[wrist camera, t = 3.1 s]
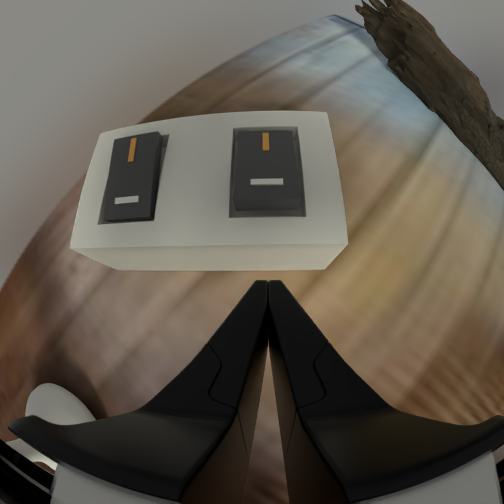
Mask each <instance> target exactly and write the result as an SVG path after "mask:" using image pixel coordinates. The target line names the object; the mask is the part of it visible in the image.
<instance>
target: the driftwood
mask: <svg viewBox="0 0 504 504" xmlns="http://www.w3.org/2000/svg"><path fill="white" fill-rule="evenodd" d="M369 2H370V3H371V4H372V6H374V7H375V8H376V9H377V10H378V11H379V12H378V11H377V10H375V9H373V8H372V7H370V6H369V5H368V4H366V3H365V2H364V1H363V0H362V3H363V7H361V6H359V5H355V9H356V11H357V12H358V13H359V14H361V15H362V16H363V17H364V21H365V23H364V26H365V28H366V30H367V32H368V33H369V34H370V35H371V36H372V37H373V39H374V40H375V43H376V45H377V47H378V49H379V50H380V51H381V52H382V54H383V55H384V56H385V57H386V58H387V59H389V60H388V64H387V66H389V67H390V68H391V69H392V70H393V71H394V72H395V73H396V74H397V75H398V76H399V78H400V80H401V81H402V82H403V83H404V84H405V85H406V86H407V87H409V88H410V89H411V90H412V91H413V92H414V93H415V94H416V95H417V96H418V97H419V98H421V99H422V100H423V101H424V102H425V103H426V104H427V105H428V107H429V108H430V109H431V110H432V111H433V112H437V114H438V115H439V116H440V118H442V119H443V120H444V121H445V122H446V124H447V125H448V126H449V127H450V129H451V130H452V131H453V132H454V133H455V135H456V136H457V137H458V138H459V140H460V141H461V142H462V143H463V144H464V145H465V146H466V147H467V148H469V149H470V150H471V151H472V153H473V154H474V155H475V157H476V158H477V159H479V160H480V161H481V162H482V163H483V165H484V166H485V167H486V169H487V170H488V171H489V172H490V173H491V174H492V175H493V177H494V178H495V179H496V180H497V182H498V183H499V185H500V186H501V187H502V188H503V189H504V120H503V119H501V118H500V117H498V116H496V114H495V113H494V112H493V111H492V109H491V106H490V103H489V99H488V97H487V94H486V92H485V91H484V89H483V88H482V87H481V85H480V83H479V78H478V77H477V76H476V75H475V74H474V73H473V72H472V71H470V70H469V69H468V68H467V67H466V66H465V65H464V64H463V63H462V62H461V61H460V60H459V59H458V58H457V57H456V56H454V55H453V54H452V53H451V52H450V50H449V49H448V48H447V47H446V45H445V44H444V43H443V42H442V41H441V39H440V38H439V37H438V35H437V34H436V32H435V29H434V27H433V26H432V25H431V24H430V23H429V22H428V21H427V20H426V19H425V18H424V17H423V16H422V15H421V14H420V13H419V12H417V11H416V10H414V9H413V8H412V7H411V6H410V5H408V4H407V3H405V2H404V1H402V0H384V2H385V3H386V5H387V7H386V6H385V5H384V4H383V3H381V2H380V1H379V0H369ZM359 11H361V12H359ZM376 39H377V40H376Z"/></svg>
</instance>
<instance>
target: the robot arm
mask: <svg viewBox="0 0 504 504" xmlns="http://www.w3.org/2000/svg"><path fill="white" fill-rule="evenodd" d="M268 339H269V352H270V360H271V367H272V374H273V382H274V389H275V396H276V404H277V411H278V419H279V426H280V434H281V441H282V449H283V457H284V461H285V462H284V464H285V472H286V480H287V487H288V495H289V503H290V504H504V459H503V460H501V461H500V462H498V463H497V464H495V460H494V456H493V452H494V451H495V450H497V449H498V448H499V447H501V446H502V445H504V416H501V415H496V416H494V417H492V418H490V419H488V420H486V421H484V422H482V423H479V424H476V425H456V424H451V423H446V422H441V421H437V420H432V419H428V418H424V417H420V416H416V415H412V414H409V413H405V412H402V411H399V410H397V409H395V408H394V407H392V406H391V405H389V404H388V403H387V402H385V401H384V400H383V399H382V398H381V397H380V396H379V395H378V394H377V393H376V392H375V391H374V390H373V389H372V388H371V387H370V386H369V385H368V384H367V383H366V382H365V381H364V380H363V379H362V378H361V377H360V376H358V375H357V374H356V373H355V371H354V370H353V369H352V368H351V367H350V366H349V365H348V364H347V363H346V362H345V361H344V360H343V359H342V357H341V356H340V355H339V354H338V353H337V351H336V350H335V349H334V348H333V346H332V345H331V344H330V343H328V342H329V341H328V340H327V339H326V337H325V336H324V335H323V333H322V332H321V331H320V330H319V328H318V327H317V326H316V324H315V323H314V322H313V321H312V319H311V318H310V317H309V315H308V314H307V313H306V312H305V310H304V309H303V308H302V307H301V305H300V304H299V303H298V301H297V300H296V299H295V298H294V296H293V295H292V294H291V292H290V291H289V290H288V289H287V287H286V286H285V285H284V283H283V282H282V281H281V280H270V281H269V282H268V281H267V280H256V281H255V282H254V283H253V284H252V286H251V287H250V288H249V290H248V291H247V292H246V294H245V295H244V296H243V297H242V299H241V300H240V301H239V303H238V304H237V305H236V306H235V308H234V309H233V310H232V312H231V313H230V314H229V315H228V317H227V318H226V319H225V320H224V322H223V323H222V324H221V326H220V327H219V328H218V329H217V331H216V332H215V333H214V334H213V336H212V337H211V338H210V340H209V341H208V342H207V343H206V344H205V346H204V347H203V348H202V349H201V351H200V352H199V353H198V354H197V355H196V357H195V358H194V359H193V360H192V361H191V362H190V363H189V364H188V365H187V366H186V367H185V368H184V369H183V370H182V371H181V372H180V373H179V374H178V375H177V376H176V377H175V378H174V379H173V380H172V381H171V382H170V383H169V384H168V385H167V386H166V387H165V388H163V389H162V390H161V391H160V392H159V393H158V394H157V395H156V396H155V397H154V398H153V399H151V400H150V401H149V402H148V403H147V404H145V405H144V406H142V407H141V408H139V409H137V410H135V411H132V412H129V413H125V414H121V415H117V416H113V417H109V418H104V419H100V420H95V421H90V422H85V423H80V424H73V425H59V424H53V423H50V422H48V421H46V420H44V419H42V418H40V417H38V416H36V415H30V416H26V417H22V418H19V419H16V420H15V421H13V422H12V423H11V424H10V425H9V426H8V429H9V430H10V431H11V432H12V433H14V434H15V435H16V436H17V437H19V438H20V439H21V440H23V441H24V442H25V443H27V444H28V445H30V446H31V447H32V448H34V449H35V450H37V451H38V452H40V453H41V454H43V455H44V456H46V457H47V458H49V459H50V460H52V461H54V462H55V463H57V467H56V470H55V474H54V475H53V474H52V473H50V472H48V471H46V470H45V469H43V468H42V467H40V466H38V465H37V464H35V463H34V462H32V461H31V460H29V459H28V458H26V457H25V456H23V455H22V454H20V453H19V452H18V451H16V450H15V449H13V448H12V447H11V446H9V445H8V444H7V443H5V442H4V441H2V440H1V439H0V504H240V503H241V499H242V494H243V489H244V484H245V479H246V474H247V469H248V463H249V462H248V461H249V458H250V452H251V447H252V441H253V436H254V430H255V425H256V419H257V413H258V407H259V401H260V395H261V389H262V382H263V376H264V370H265V363H266V356H267V349H268Z"/></svg>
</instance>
